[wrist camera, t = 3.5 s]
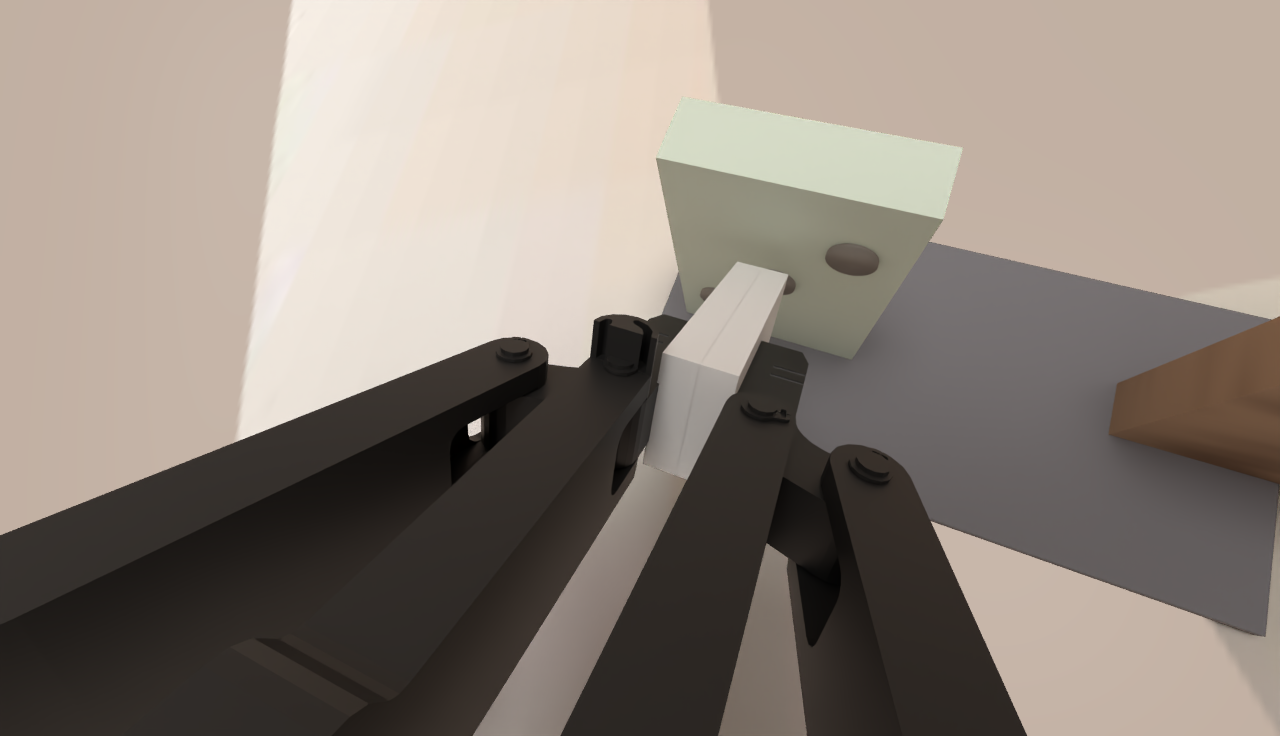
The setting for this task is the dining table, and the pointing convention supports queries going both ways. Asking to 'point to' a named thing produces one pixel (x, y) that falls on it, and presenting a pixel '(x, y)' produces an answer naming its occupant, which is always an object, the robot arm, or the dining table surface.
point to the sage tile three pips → (801, 213)
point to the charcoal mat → (1047, 427)
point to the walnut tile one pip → (1211, 404)
